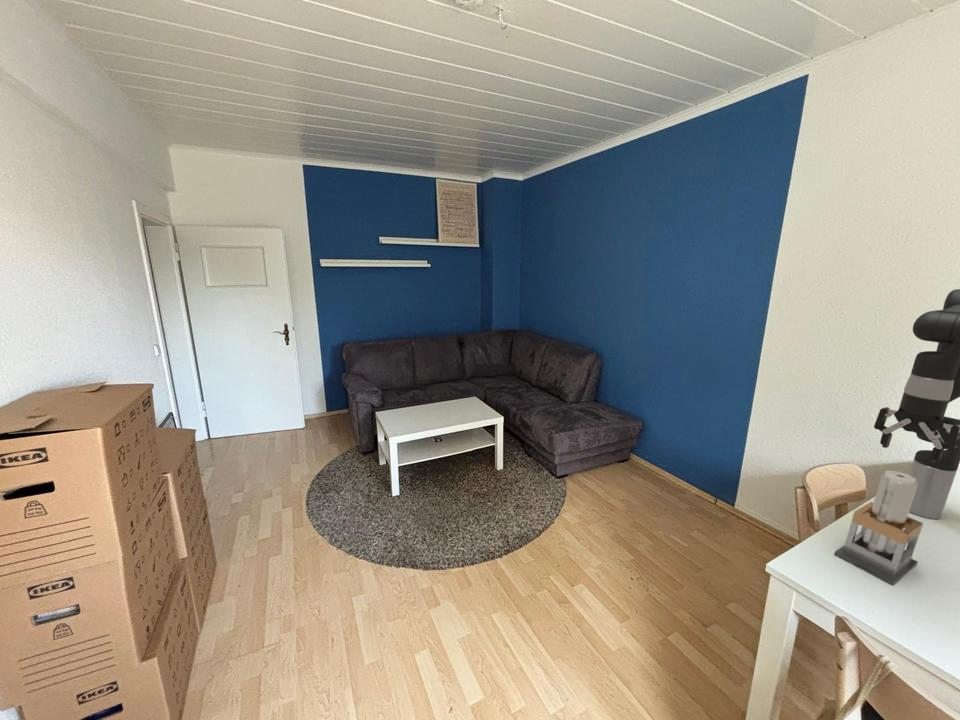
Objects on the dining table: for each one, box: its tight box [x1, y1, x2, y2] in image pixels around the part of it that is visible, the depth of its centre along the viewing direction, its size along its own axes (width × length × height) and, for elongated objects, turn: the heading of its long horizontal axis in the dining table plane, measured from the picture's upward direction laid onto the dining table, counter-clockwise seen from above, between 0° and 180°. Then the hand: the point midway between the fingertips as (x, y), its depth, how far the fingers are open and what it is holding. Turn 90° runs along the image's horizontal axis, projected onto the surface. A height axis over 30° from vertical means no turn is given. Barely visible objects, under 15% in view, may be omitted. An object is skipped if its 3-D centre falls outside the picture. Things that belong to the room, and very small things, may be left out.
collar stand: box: [833, 501, 924, 586], centre depth 105 cm, size 16×12×14 cm
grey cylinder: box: [861, 470, 918, 561], centre depth 104 cm, size 6×6×25 cm
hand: (907, 453), depth 99 cm, fingers open, 8 cm apart
